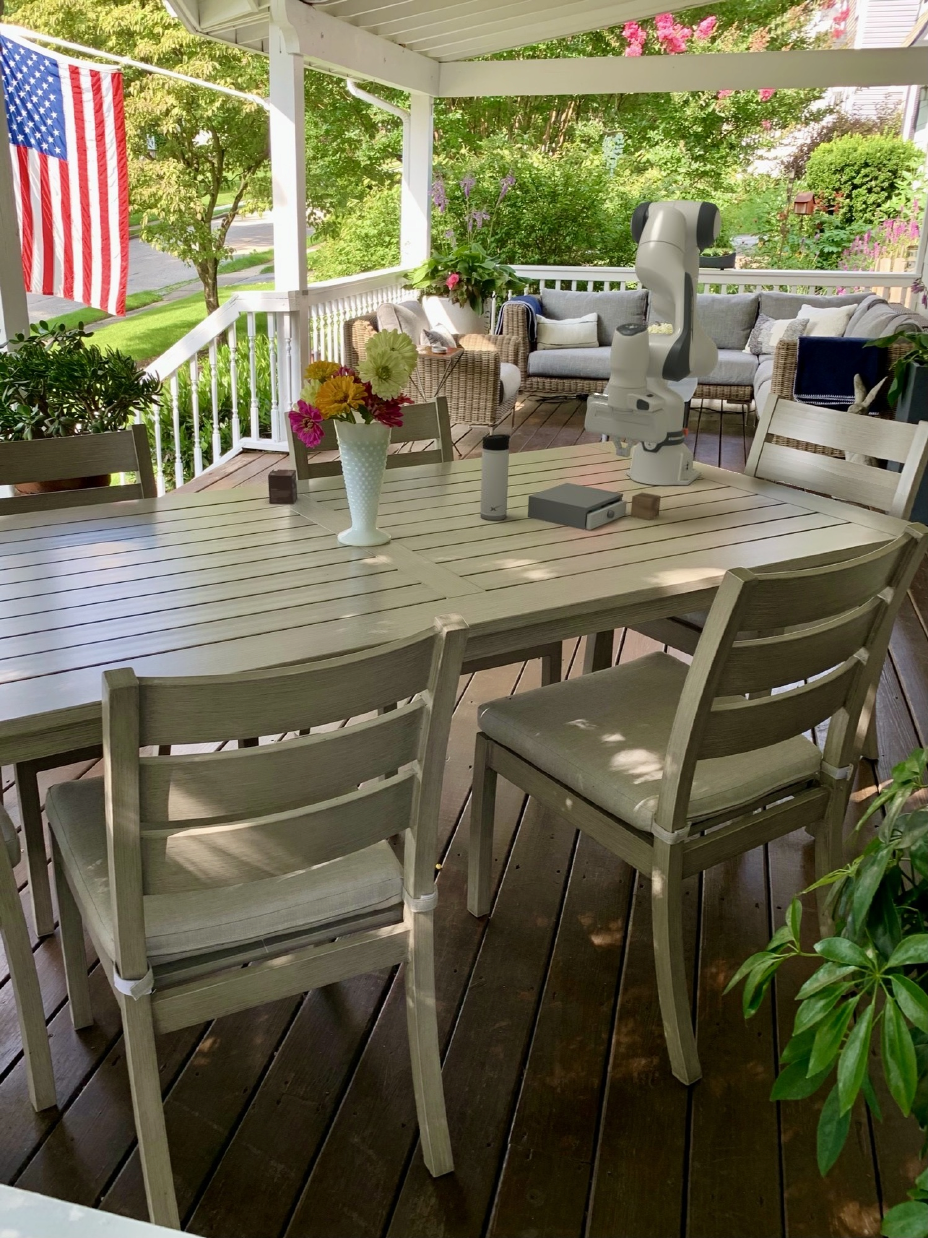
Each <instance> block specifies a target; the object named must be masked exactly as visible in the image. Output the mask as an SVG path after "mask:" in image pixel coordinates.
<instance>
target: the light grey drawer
mask: <svg viewBox="0 0 928 1238" xmlns="http://www.w3.org/2000/svg"><path fill="white" fill-rule="evenodd" d="M627 502H628V501H627V500H625V499H622V501H619V502H617V503H614V504H612V505H609V504H604V505H601V509H599V510H597V511H594V512H592V513H589V512H588V514H587V527H586V530H589V531H591V530H593V529H595V528H598V527H600V526H602V525H605V524H607V523H610V522H612V521H615V520H617V519H619V518H622V517H624V516H626V514H627V513H626V512H627Z"/></svg>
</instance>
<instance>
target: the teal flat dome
mask: <svg viewBox="0 0 928 1238" xmlns="http://www.w3.org/2000/svg"><path fill="white" fill-rule="evenodd" d="M599 509H601V506H599V507H596V508H594V509H591V510H589V511H588V512H589V513H592V512H594V511H597V510H599Z"/></svg>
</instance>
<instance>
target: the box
mask: <svg viewBox="0 0 928 1238" xmlns="http://www.w3.org/2000/svg"><path fill="white" fill-rule="evenodd" d="M267 481H268V498H269V499H268V500H269V504H274V505H275V504H276V505H277V504H278V505H279V504H280V505H281V504H284V505H285V504H286V505H294V504H295V502H296V501H297V500H298V487H297V486H298V483H297V470H296V469H272V470H271V471H270V472H269V473H268V475H267Z"/></svg>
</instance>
